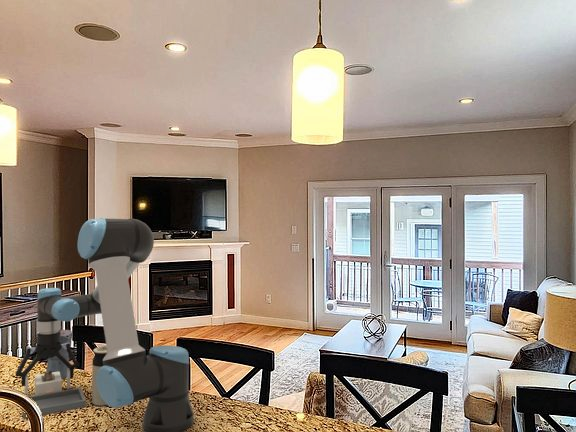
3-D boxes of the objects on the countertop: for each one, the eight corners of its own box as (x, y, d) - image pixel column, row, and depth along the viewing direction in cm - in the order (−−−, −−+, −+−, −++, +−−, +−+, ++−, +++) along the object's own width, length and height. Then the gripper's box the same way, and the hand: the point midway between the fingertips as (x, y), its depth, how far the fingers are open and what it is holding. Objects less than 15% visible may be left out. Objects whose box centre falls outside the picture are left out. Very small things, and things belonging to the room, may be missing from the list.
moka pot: (57, 383, 168) (58, 330, 168) (33, 376, 175) (34, 325, 176) (80, 376, 176) (80, 325, 176) (56, 369, 184) (57, 320, 184)
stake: (53, 392, 159) (53, 372, 160) (43, 394, 158) (43, 374, 158) (52, 389, 162) (52, 370, 162) (42, 391, 161) (42, 371, 161)
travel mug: (86, 405, 149) (87, 351, 149) (100, 396, 157) (101, 344, 157) (109, 407, 148) (110, 352, 148) (121, 397, 156) (122, 346, 156)
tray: (86, 406, 148) (86, 400, 148) (22, 418, 138) (23, 412, 138) (81, 393, 159) (81, 387, 159) (22, 403, 149) (22, 397, 149)
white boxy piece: (62, 396, 156) (62, 381, 156) (35, 400, 152) (36, 385, 152) (59, 384, 167) (59, 371, 167) (34, 388, 163) (34, 375, 163)
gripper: (84, 325, 170) (83, 381, 170) (8, 333, 157) (7, 394, 157) (87, 329, 163) (86, 388, 163) (8, 338, 151) (7, 401, 150)
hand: (47, 391), depth 160 cm, fingers open, 13 cm apart
